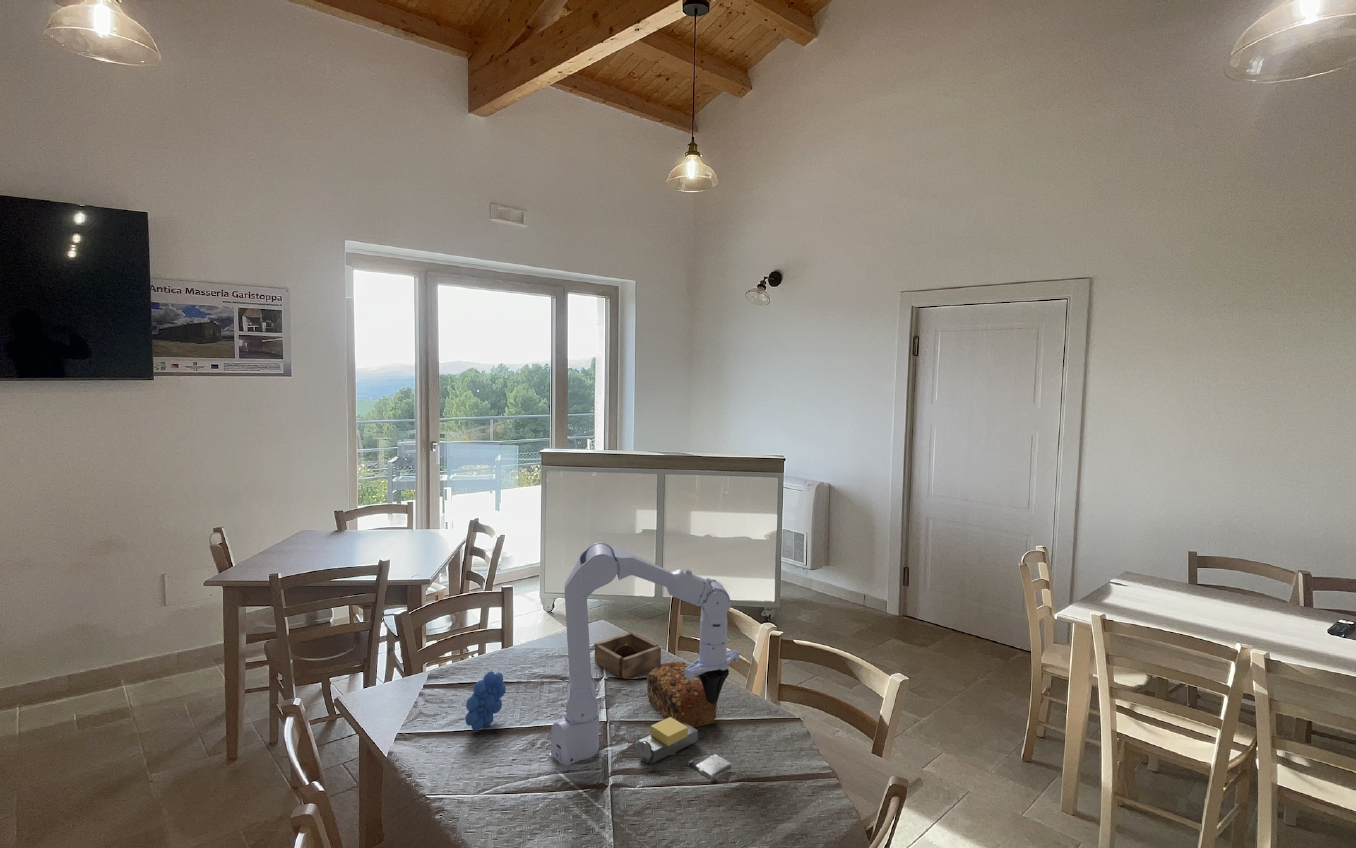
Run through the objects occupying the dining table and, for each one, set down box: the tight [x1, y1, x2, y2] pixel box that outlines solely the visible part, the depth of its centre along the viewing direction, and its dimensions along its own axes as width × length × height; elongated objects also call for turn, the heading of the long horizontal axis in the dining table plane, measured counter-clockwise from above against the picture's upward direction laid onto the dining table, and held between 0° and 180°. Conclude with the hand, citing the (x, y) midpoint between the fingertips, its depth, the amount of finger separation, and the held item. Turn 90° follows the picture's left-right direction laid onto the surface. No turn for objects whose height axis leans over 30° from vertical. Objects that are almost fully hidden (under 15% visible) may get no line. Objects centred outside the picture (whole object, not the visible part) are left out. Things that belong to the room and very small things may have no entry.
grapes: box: [464, 670, 507, 732], centre depth 153 cm, size 12×7×12 cm, turn 152°
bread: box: [646, 661, 718, 728], centre depth 160 cm, size 19×11×10 cm, turn 22°
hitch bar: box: [636, 721, 718, 783], centre depth 138 cm, size 13×16×5 cm
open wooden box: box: [594, 632, 662, 679], centre depth 186 cm, size 13×13×5 cm
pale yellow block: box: [650, 717, 688, 756], centre depth 142 cm, size 5×5×6 cm
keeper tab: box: [689, 753, 732, 781], centre depth 137 cm, size 6×6×1 cm
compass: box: [615, 644, 637, 658], centre depth 185 cm, size 8×8×7 cm
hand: (711, 701), depth 146 cm, fingers closed
